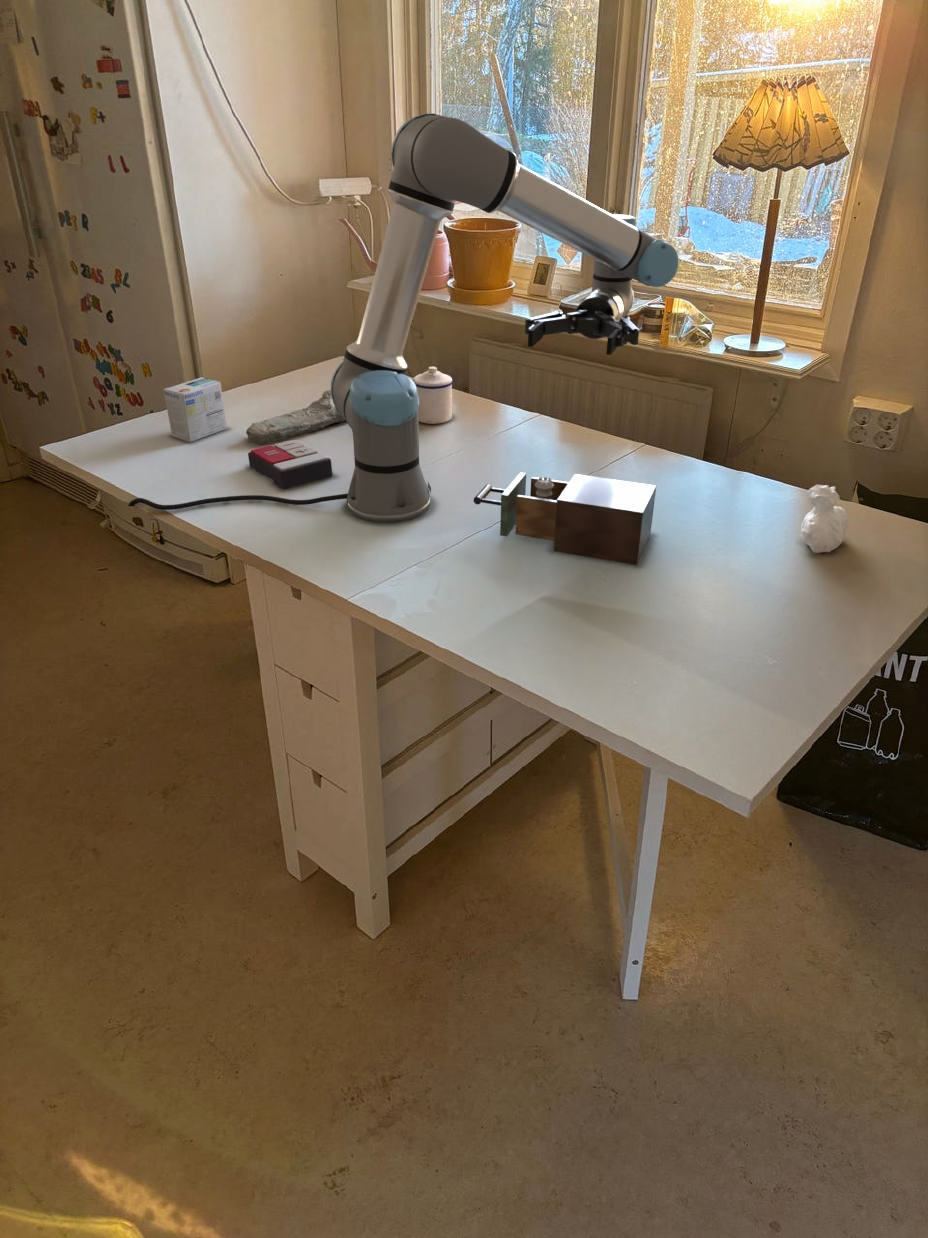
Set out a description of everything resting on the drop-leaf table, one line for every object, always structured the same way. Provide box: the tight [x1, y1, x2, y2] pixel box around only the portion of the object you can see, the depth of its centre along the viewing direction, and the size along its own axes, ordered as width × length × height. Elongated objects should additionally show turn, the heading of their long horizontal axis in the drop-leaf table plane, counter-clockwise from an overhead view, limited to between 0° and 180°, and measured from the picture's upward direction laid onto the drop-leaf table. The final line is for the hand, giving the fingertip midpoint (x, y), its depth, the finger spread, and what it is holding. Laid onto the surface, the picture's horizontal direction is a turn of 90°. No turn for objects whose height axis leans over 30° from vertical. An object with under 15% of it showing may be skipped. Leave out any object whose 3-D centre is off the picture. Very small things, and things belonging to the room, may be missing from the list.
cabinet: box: [553, 473, 657, 566], centre depth 152 cm, size 14×12×9 cm
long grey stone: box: [246, 389, 346, 446], centre depth 204 cm, size 35×5×10 cm
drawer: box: [473, 472, 570, 542], centre depth 156 cm, size 19×10×8 cm, turn 69°
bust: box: [800, 484, 849, 554], centre depth 153 cm, size 12×8×11 cm
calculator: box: [247, 439, 333, 490], centre depth 180 cm, size 11×4×15 cm
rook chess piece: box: [535, 476, 554, 500], centre depth 155 cm, size 4×4×8 cm
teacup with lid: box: [412, 366, 454, 425], centre depth 206 cm, size 12×9×12 cm
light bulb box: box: [163, 377, 228, 443], centre depth 197 cm, size 11×7×11 cm, turn 144°
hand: (569, 342), depth 151 cm, fingers open, 13 cm apart
